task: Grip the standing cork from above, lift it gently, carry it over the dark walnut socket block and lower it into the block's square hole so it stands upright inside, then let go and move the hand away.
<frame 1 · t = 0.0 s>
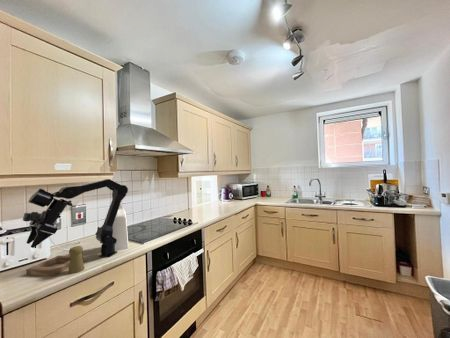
hand: (29, 245, 85), 15 cm above the counter, tool tilted 35°, fingers open, 9 cm apart
socket block: (56, 267, 97), on the counter
milk: (117, 247, 121), on the counter
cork: (76, 270, 93), on the counter
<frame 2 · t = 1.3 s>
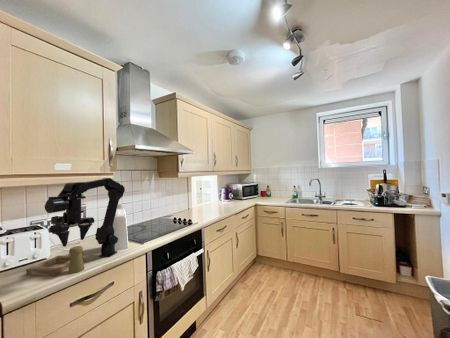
hand: (73, 242, 92), 13 cm above the counter, tool pointing down, fingers open, 9 cm apart
nothing on the counter moved.
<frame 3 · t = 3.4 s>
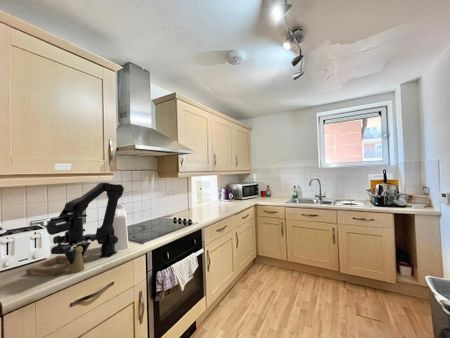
hand: (76, 261, 93), 4 cm above the counter, tool pointing down, fingers closed on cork, 4 cm apart
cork: (76, 270, 93), on the counter, touching gripper
everything else where it was.
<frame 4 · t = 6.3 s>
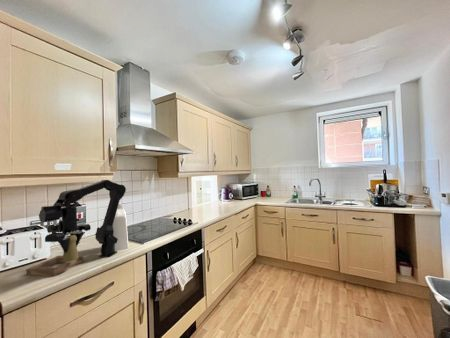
hand: (70, 250, 94), 9 cm above the counter, tool pointing down, fingers closed on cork, 4 cm apart
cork: (70, 259, 94), point 5 cm above the counter, touching gripper
everything else where it was.
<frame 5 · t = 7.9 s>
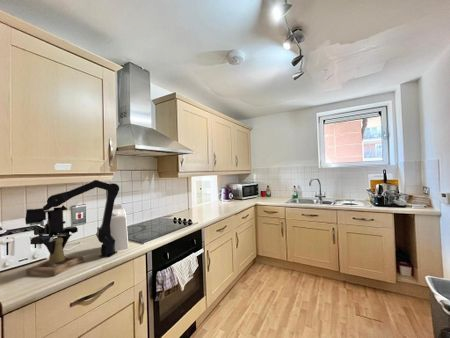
hand: (56, 252, 97), 7 cm above the counter, tool pointing down, fingers closed on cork, 4 cm apart
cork: (56, 261, 97), point 3 cm above the counter, touching gripper
everything else where it was.
when the fingers open (5 cm above the counter, at t = 9.1 s): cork drops 1 cm, resting in socket block.
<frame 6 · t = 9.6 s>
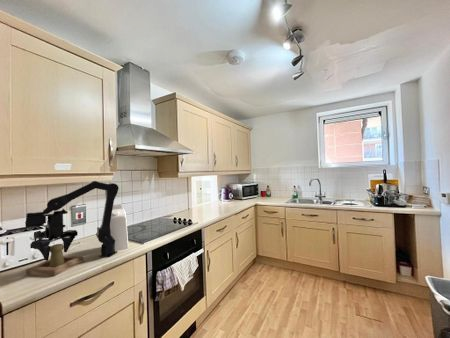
hand: (56, 256, 97), 5 cm above the counter, tool pointing down, fingers open, 9 cm apart
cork: (57, 267, 97), resting in socket block
everything else where it was.
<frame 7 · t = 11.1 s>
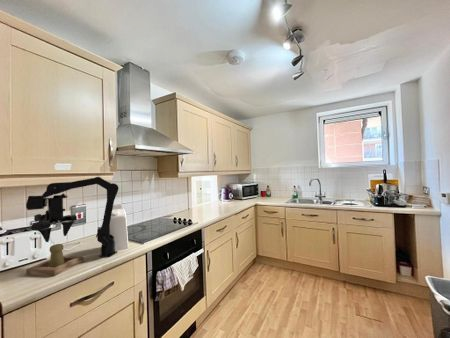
hand: (56, 238, 99), 13 cm above the counter, tool pointing down, fingers open, 9 cm apart
nothing on the counter moved.
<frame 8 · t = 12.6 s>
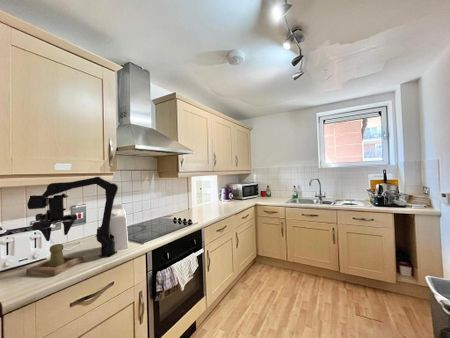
hand: (57, 237, 101), 13 cm above the counter, tool pointing down, fingers open, 9 cm apart
nothing on the counter moved.
at the end: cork 0.1 cm off-centre on the socket block, point 0.0 cm above the socket block's base; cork tilted 0°; the gripper is holding nothing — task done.
